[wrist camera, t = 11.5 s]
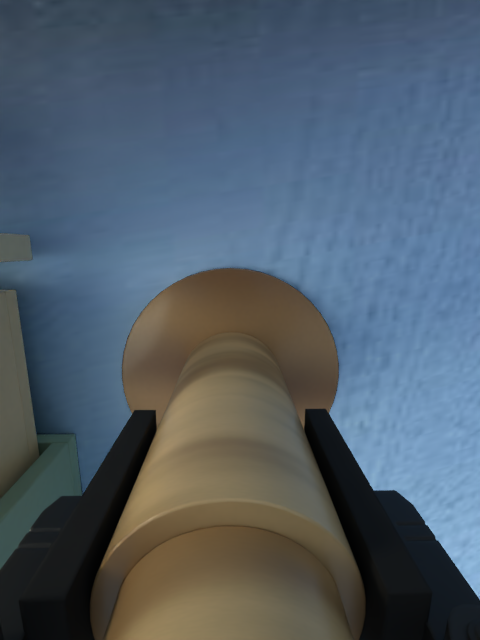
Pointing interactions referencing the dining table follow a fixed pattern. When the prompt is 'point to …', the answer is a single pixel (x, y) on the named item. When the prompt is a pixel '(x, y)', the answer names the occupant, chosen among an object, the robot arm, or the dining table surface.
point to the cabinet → (38, 489)
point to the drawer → (14, 378)
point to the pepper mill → (229, 518)
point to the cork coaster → (222, 317)
